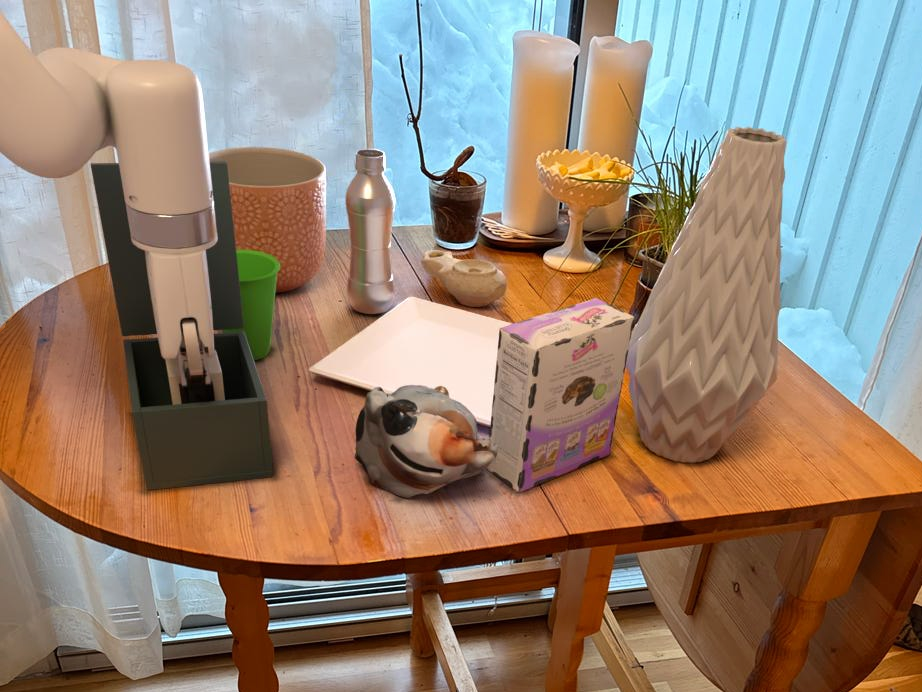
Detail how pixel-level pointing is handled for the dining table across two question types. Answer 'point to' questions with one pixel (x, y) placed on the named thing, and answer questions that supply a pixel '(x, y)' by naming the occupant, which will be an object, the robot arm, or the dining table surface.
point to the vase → (714, 307)
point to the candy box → (557, 391)
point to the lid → (131, 260)
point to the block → (175, 373)
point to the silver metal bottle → (370, 234)
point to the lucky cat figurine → (418, 440)
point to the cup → (257, 299)
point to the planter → (278, 208)
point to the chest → (199, 419)
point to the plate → (423, 354)
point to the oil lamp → (466, 278)
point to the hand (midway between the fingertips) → (197, 404)
